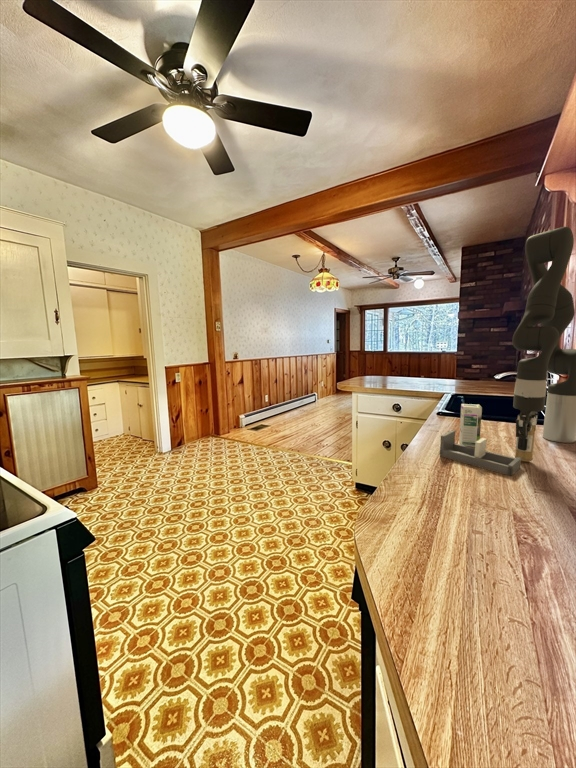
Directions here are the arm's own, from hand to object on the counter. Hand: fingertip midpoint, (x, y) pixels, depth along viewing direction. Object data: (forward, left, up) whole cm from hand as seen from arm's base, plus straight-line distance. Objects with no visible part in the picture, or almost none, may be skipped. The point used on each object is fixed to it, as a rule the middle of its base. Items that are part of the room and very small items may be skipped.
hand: (524, 447), depth 97 cm
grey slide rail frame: (+10, -9, -4) cm, 14 cm away
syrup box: (-4, -17, -5) cm, 18 cm away
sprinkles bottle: (0, 0, -4) cm, 4 cm away
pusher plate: (+10, -9, -3) cm, 14 cm away
